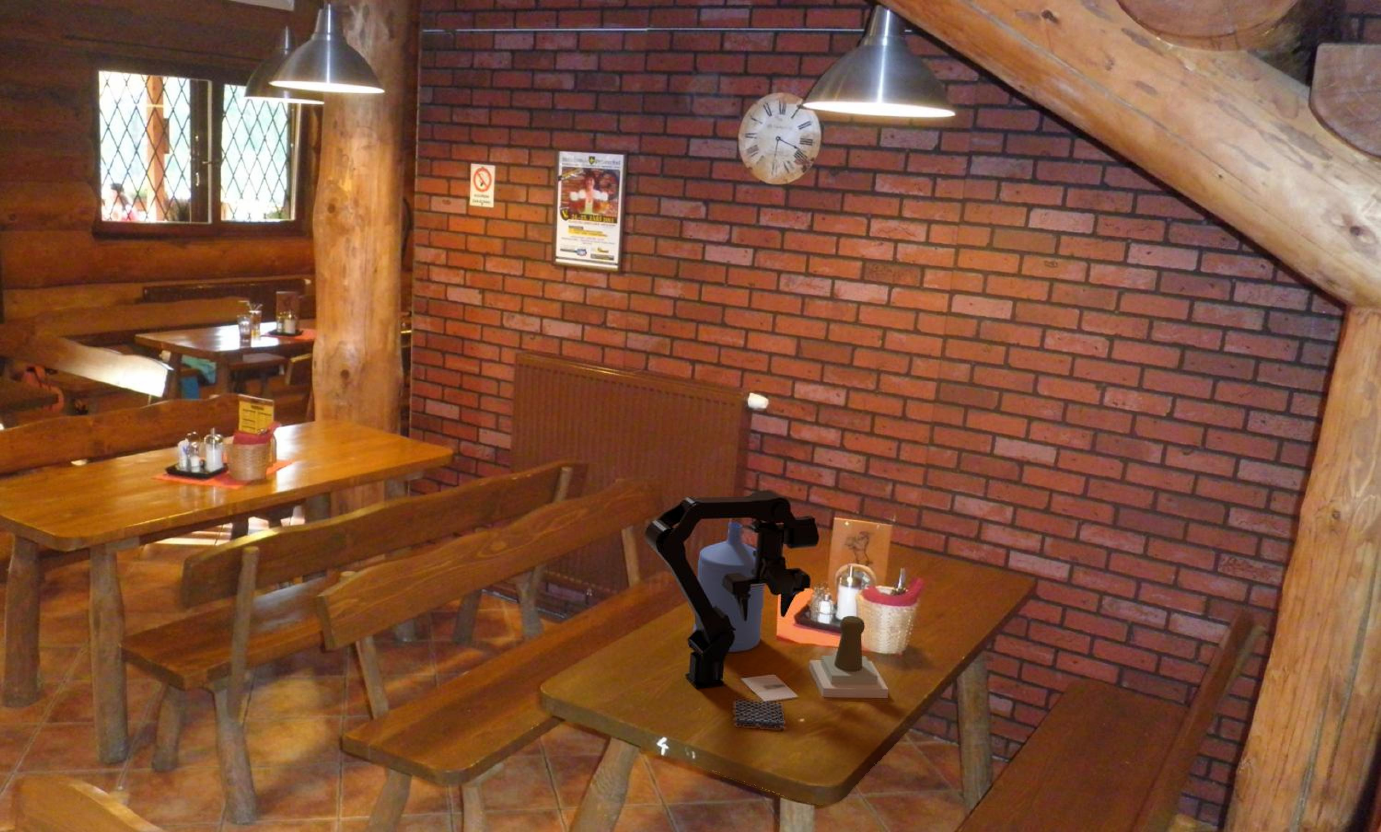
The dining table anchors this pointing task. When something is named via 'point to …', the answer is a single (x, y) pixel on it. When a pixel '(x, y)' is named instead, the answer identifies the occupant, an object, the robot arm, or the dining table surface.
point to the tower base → (847, 688)
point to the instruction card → (769, 688)
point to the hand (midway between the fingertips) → (763, 618)
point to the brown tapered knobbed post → (850, 644)
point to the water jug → (710, 576)
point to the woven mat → (759, 715)
